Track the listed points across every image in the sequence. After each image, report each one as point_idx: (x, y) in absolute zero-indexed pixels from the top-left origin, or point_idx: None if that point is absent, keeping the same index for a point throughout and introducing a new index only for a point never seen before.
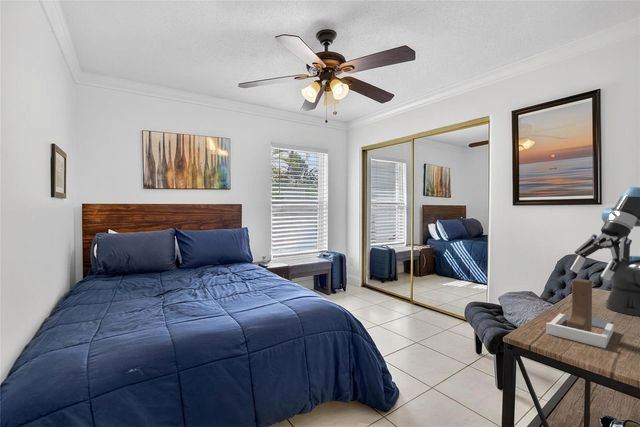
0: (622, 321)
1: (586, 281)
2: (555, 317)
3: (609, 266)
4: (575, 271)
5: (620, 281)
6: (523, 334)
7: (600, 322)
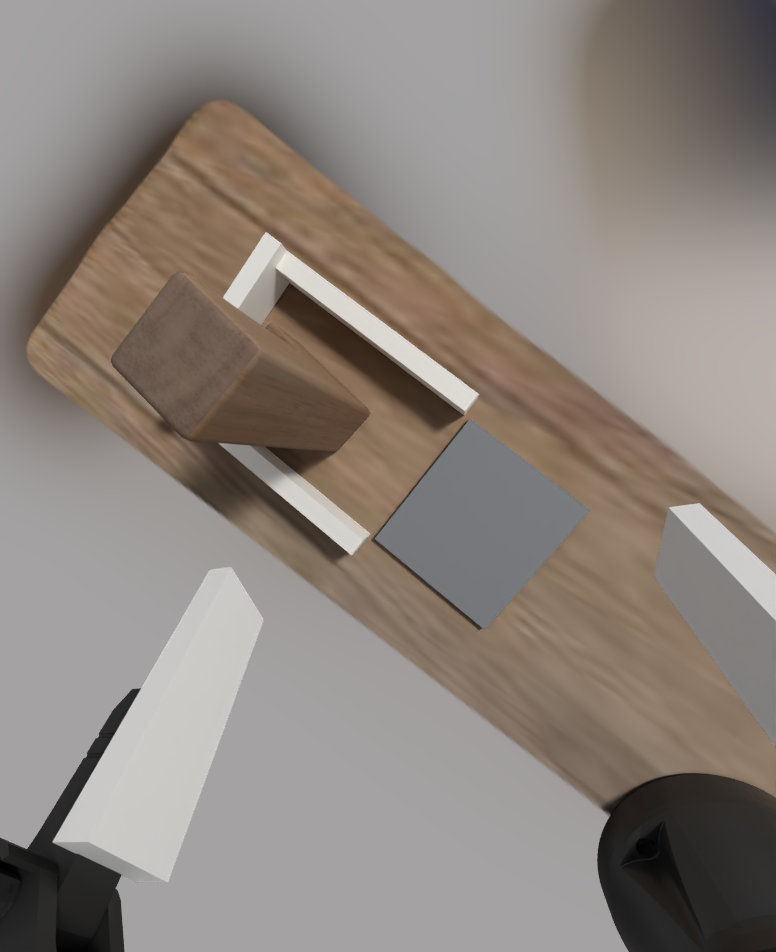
0: (503, 685)
1: (132, 363)
2: (402, 337)
3: (132, 714)
4: (661, 556)
5: None
6: (259, 161)
7: (453, 562)
